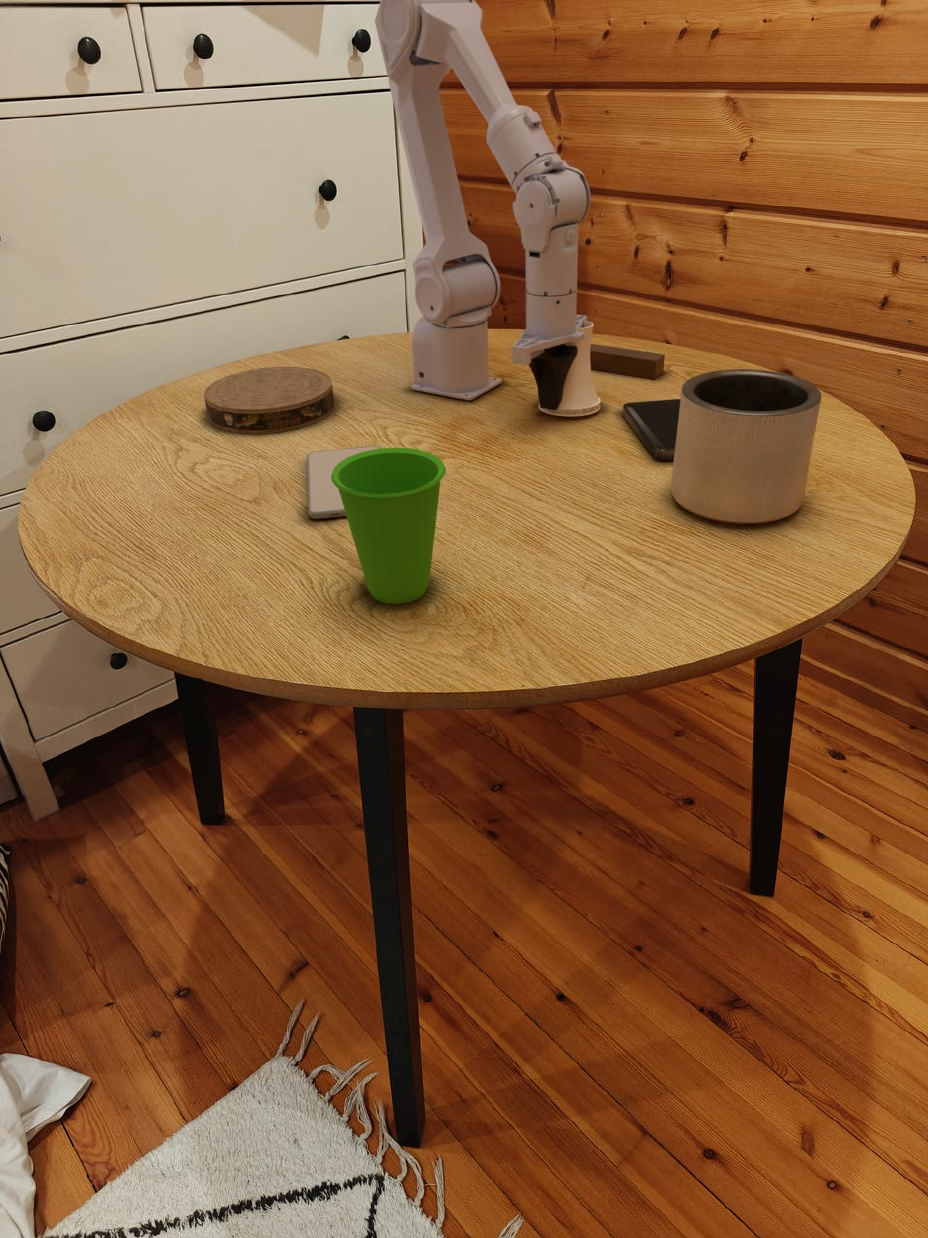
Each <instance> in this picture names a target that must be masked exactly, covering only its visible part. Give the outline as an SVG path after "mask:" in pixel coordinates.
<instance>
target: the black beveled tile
mask: <svg viewBox="0 0 928 1238" xmlns="http://www.w3.org/2000/svg"><path fill="white" fill-rule="evenodd" d="M680 401H681V398H674V399H673V398H672V399H670V398H669V399H660V400H645V401H644V400H643V401H633V402H631V401H630V402H626V403H624V404H622V416H623V417H624V419H625V420H626V422H627V423H628V425H629V426H630V427H631V428H632V430H633V431H634V433H635V434H636V435H637V437H638V438H639V440H640V441H641V443H642V444H643V445H644V447H645V448H646V450H647V451H648V453H649V454H650V455H651V457H652V458H653V459H655V460H657V461H662V462H663V461H665V462H666V461H674V454H675V446H676V437H677V429H678V420H679V411H680Z"/></svg>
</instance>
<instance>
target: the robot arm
mask: <svg viewBox="0 0 928 1238" xmlns="http://www.w3.org/2000/svg"><path fill="white" fill-rule="evenodd" d="M483 21H484V11H483V9H482V8H481V7H480V5H479V4H478V3H477V2H476V0H380V2H379V5H378V9H377V11H376V15H375V18H374V23H375V28H376V33H377V36H378V41H379V45H380V50H381V54H382V58H383V62H384V66H385V71H386V75H387V78H388V84H389V89H390V90H389V91H390V94H391V98H392V102H393V106H394V111H395V115H396V119H397V124H398V128H399V132H400V137H401V142H402V146H403V149H404V155H405V158H406V162H407V168H408V171H409V175H410V179H411V184H412V188H413V192H414V196H415V200H416V205H417V209H418V214H419V218H420V222H421V226H422V231H423V234H424V240H425V244H424V246H423V247H422V249H421V250H420V251H419V253H418V255H417V256H416V257H415V259H414V261H413V262H412V269H413V273H414V283H415V284H414V298H415V303H416V306H417V308H418V310H419V311H420V314H421V315H422V316H421V317H420V318H419V319H418V320H417V322H416V323H415V325H414V328H413V331H412V336H411V350H412V364H413V381H414V383H413V384H412V385H410V388H411V390H413V391H418V392H422V393H423V392H424V393H429V394H434V395H439V396H443V397H449V398H455V399H459V400H465V401H472V400H475V399H476V398H478V397H480V396H482V395H483V394H485V393H487V392H488V391H490V390H492V389H494V388H495V387H497V386H499V385H500V384H502V383H503V380H502V378H498V377H493V376H489V375H490V374H489V332H488V331H489V330H488V329H489V328H488V327H489V326H488V318H489V317H491V316H492V313H493V312H492V308H493V307H495V305H496V304H497V303H498V302H499V299H500V295H501V279H500V275H499V272H498V270H497V268H496V266H495V265H494V264H493V262H492V260H491V257H490V253H489V249H488V245H487V244H486V243H485V242H483V241H482V240H481V239H479V238H478V237H477V236H476V235H474V234H472V233H471V232H470V228H469V225H468V220H467V215H466V211H465V206H464V202H463V197H462V196H463V195H462V192H461V187H460V184H459V183H460V182H459V179H458V174H457V173H458V172H457V169H456V165H455V160H454V156H453V155H454V154H453V150H452V145H451V142H450V137H449V133H448V128H447V124H446V123H447V122H446V119H445V114H444V109H443V105H442V100H441V96H440V92H439V91H440V90H439V89H440V87H441V84H442V81H443V79H444V77H445V76H446V75H448V74H449V73H450V71H453V72H454V74H455V76H456V77H457V78H458V80H459V81H460V83H461V84H462V86H463V88H464V89H465V90H466V92H467V93H468V95H469V96H470V98H471V99H472V101H473V102H474V104H475V105H476V107H477V108H478V110H479V111H480V113H481V114H482V116H483V117H484V119H485V120H486V123H488V125H487V126H488V127H487V132H486V141H485V142H486V144H487V146H488V147H489V149H490V151H491V153H492V155H493V156H494V159H495V160H496V162H497V163H498V165H499V167H500V169H501V170H502V172H503V174H504V176H505V177H506V179H507V181H508V183H509V185H510V187H511V189H512V190H513V192H514V193H515V196H516V198H515V201H513V202H512V210H513V215H514V219H515V221H516V223H517V225H518V227H519V230H520V235H521V236H520V238H521V244H522V245H523V249H524V250H525V329H524V330H523V332H522V333H521V335H520V337H519V339H518V340H517V341H516V342H515V343H514V344H512V345H511V346H510V354H511V355H510V356H511V357H510V358H511V359H510V360H511V361H510V362H511V364H516V365H522V366H528V367H529V368H530V370H531V372H532V375H533V377H534V380H535V383H536V387H537V398H538V405H539V404H540V407H541V408H544V409H550V410H557V408H558V407H559V405H560V403H561V400H562V394H563V387H564V384H565V380H566V377H567V374H568V372H569V369H570V367H571V365H572V363H573V361H574V359H575V357H576V356H577V353H578V348H577V347H576V346H566V345H565V346H564V343H568V342H579V341H581V340H583V339H584V338H585V332H582V331H579V328H583V327H584V326H583V325H584V321H588V316H587V315H581V314H577V302H578V300H577V299H578V298H577V296H578V263H579V261H578V259H579V255H578V254H579V224H581V223H582V222H584V220H585V219H586V218H587V216H588V214H589V210H590V207H591V199H592V198H591V197H592V196H591V190H590V186H589V183H588V182H587V178H586V176H585V173H584V172H583V171H581V170H580V169H579V168H577V167H574V166H570V165H569V164H568V163H567V161H566V160H563V159H562V158H561V156H560V154H558V152H557V150H556V149H555V147H554V146H553V143H552V142H551V140H550V139H549V138H550V137H548V134H547V133H546V131H545V129H544V127H543V126H542V125H541V124H542V122H543V121H542V119H541V117H540V115H539V113H538V112H537V111H534V110H533V108H531V107H530V106H527V105H520V104H517V103H516V101H515V98H514V97H513V94H512V92H511V90H510V88H509V86H508V84H507V81H506V79H505V77H504V75H503V72H502V71H501V69H500V67H499V64H498V62H497V61H496V58H495V56H494V54H493V52H492V50H491V48H490V45H489V44H488V41H487V40H486V39H487V38H486V37H485V35H484V33H483V31H482V30H483ZM452 261H457V262H458V263H453V264H449V265H446V266H444V265H445V263H448V262H452ZM578 320H581V321H578Z"/></svg>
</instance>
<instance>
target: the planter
mask: <svg viewBox="0 0 928 1238" xmlns="http://www.w3.org/2000/svg"><path fill="white" fill-rule="evenodd" d="M680 392H681V393H680V399H681V401H680V411H679V420H678V429H677V437H676V446H675V454H674V460H673V462H672V471H671V482H670V490H671V496H672V497H673V499H674V500H675V502H677V503H678V505H680V507H682V508H684V509H685V510H686V511H688V512H690V513H691V514H693V515H695V516H697V517H699V518H702V519H704V520H708V521H713V522H716V523H721V524H728V525H738V526H749V525H750V526H751V525H763V524H768V523H773V522H777V521H780V520H781V519H784V518H786V517H789V516H790V515H792V514H794V513H796V512H797V511H798V510H799V509H800V508H801V506H802V504H803V502H804V498H805V494H806V489H807V483H808V477H809V472H810V465H811V458H812V453H813V447H814V443H815V436H816V431H817V430H816V429H817V424H818V419H819V413H820V407H821V402H822V392H821V391H820V389H819V388H818V387H817V386H815V385H814V384H813V383H811V382H809V381H807V380H806V379H803V378H800V377H797V376H795V375H791V374H787V373H783V372H777V371H773V370H764V369H749V368H734V369H733V368H730V369H721V370H720V369H719V370H713V371H708V372H703V373H701V374H698V375H695V376H693V377H691V378H688V379H687V380H686V381H685V382H684V383H683V384H682V385H681V391H680Z"/></svg>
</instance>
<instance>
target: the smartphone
mask: <svg viewBox="0 0 928 1238" xmlns="http://www.w3.org/2000/svg"><path fill="white" fill-rule="evenodd" d="M375 449H381V447H380V446H377V445H369V446H359V447H358V446H357V447H349V448H338V449H327V450H317V451H311V452H309V453H307V455H306V482H307V484H306V485H307V486H306V487H307V513H308V517H310V518H312V519H315V520H316V519H317V520H318V519H328V518H337V517H347V516H346V513H345V510H344V506H343V503H342V499H341V496H340V493H339V489H338V488H337V487H336V486H335V485H334V484H333V483H332V479H331V475H332V472H333V470H334V468H335V466H336V465H337V464H338V463H339V462H341V461H343V460H344V459H346V458H348V457H350V456H352V455H355V454H357V453H361V452H365V451H369V450H375Z"/></svg>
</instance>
